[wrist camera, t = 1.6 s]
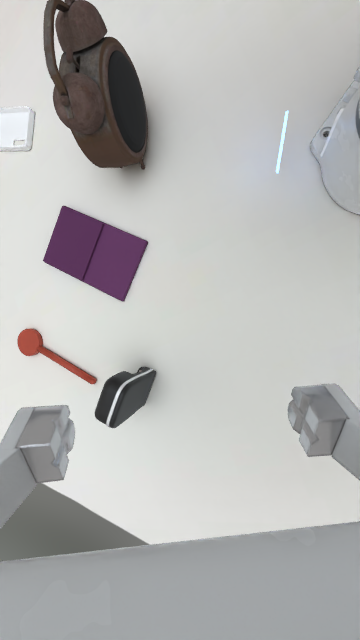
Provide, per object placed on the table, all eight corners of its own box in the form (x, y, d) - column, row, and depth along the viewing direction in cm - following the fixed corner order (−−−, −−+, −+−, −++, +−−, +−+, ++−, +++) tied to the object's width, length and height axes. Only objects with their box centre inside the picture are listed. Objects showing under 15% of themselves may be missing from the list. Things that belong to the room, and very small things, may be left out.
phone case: (35, 110, 53) (-24, 114, 57) (29, 105, 52) (-31, 109, 56) (31, 150, 53) (-27, 151, 58) (25, 146, 52) (-34, 147, 56)
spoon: (26, 324, 55) (21, 324, 54) (102, 369, 51) (98, 370, 49) (18, 347, 56) (13, 348, 55) (92, 393, 51) (88, 395, 50)
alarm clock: (155, 183, 47) (79, 94, 27) (116, 187, 49) (20, 107, 29) (157, 92, 46) (81, -63, 27) (118, 101, 48) (21, -39, 29)
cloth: (66, 206, 52) (61, 204, 50) (148, 241, 47) (145, 240, 46) (46, 262, 53) (41, 261, 52) (124, 301, 49) (120, 301, 48)
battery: (139, 360, 48) (102, 375, 38) (158, 370, 47) (126, 387, 37) (126, 396, 49) (86, 421, 38) (144, 406, 48) (109, 434, 37)
